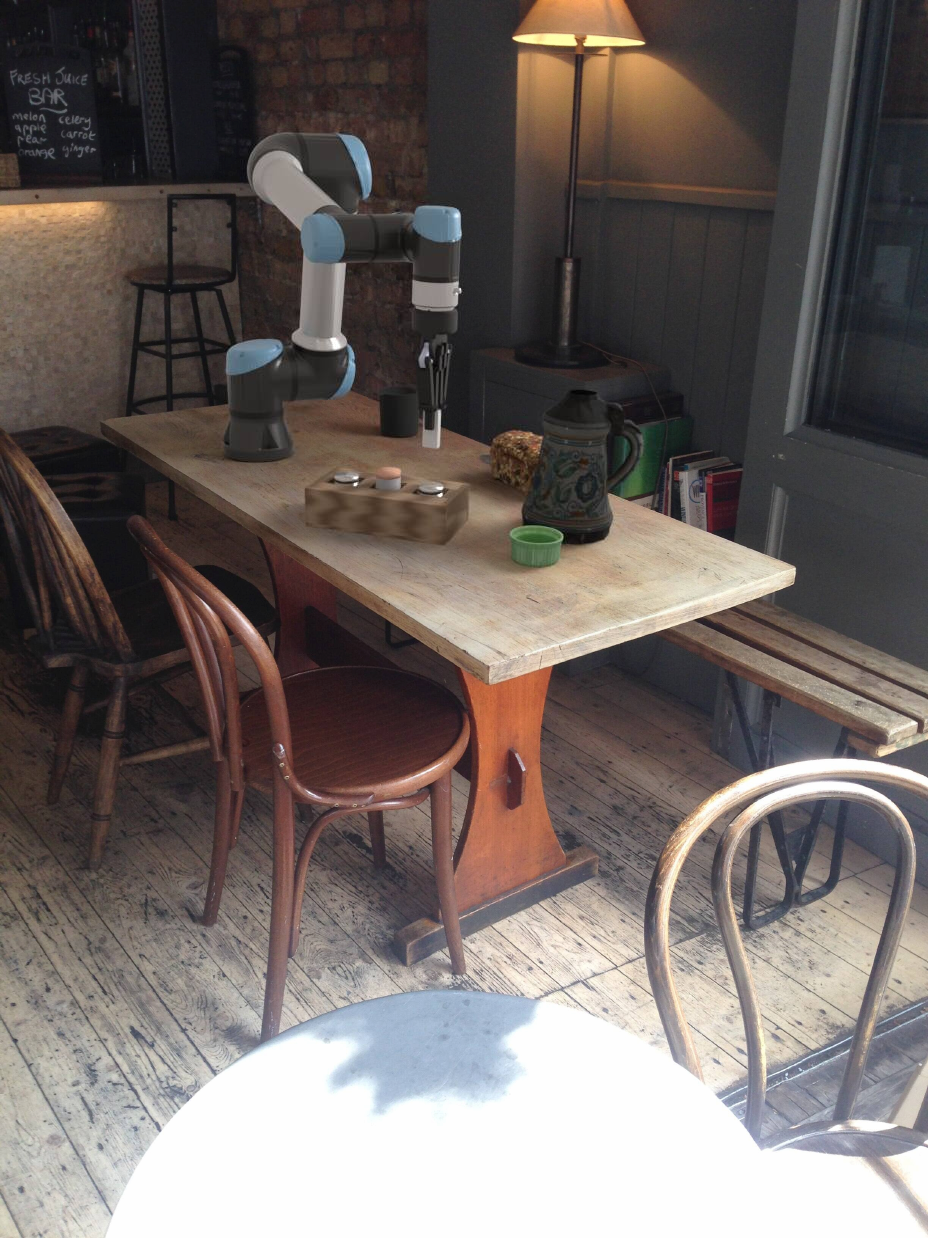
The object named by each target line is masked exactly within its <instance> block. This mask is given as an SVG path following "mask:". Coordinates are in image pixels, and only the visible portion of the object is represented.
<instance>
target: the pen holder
mask: <svg viewBox="0 0 928 1238" xmlns="http://www.w3.org/2000/svg"><path fill="white" fill-rule="evenodd" d="M378 396H379V397H378V398H379V421H380V422H379V424H380V425H379V426H380V432H381V434H382V435H383V436H386V437H390V438H399V439H401V438H402V439H405V438H412V437H415V436H416V435H417V434H418V432H419V421H420V420H419V419H420V418H419V417H420V410H418V407H419V404H418V390H416V389H415V388H414V387H411V386H405V385H403V386H402V385H398V386H397V385H395V386H394V385H393V386H392V385H391V386H385V387H381V388H380V389H379V392H378Z"/></svg>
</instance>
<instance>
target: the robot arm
mask: <svg viewBox="0 0 928 1238" xmlns="http://www.w3.org/2000/svg"><path fill="white" fill-rule="evenodd" d="M247 161H248V162H247V165H246V174H247V179H248V183H249V185H250V187H251V189H252V190H253V192H254V194H256V196H258V197H259V198H260V199H261V200H262V201H263V202H265V204H266V203H267V204H268V205H272V206H275V207H276V208H277V209H278V210H279V211H280V212H281V213H282V214H283V215H284V216H285V217H287V219H288V220H289V221H290V222H291V223H292V224H293V225H294V226H295V227H296V228H297V229H298V230H299V231H300V243H301V248H302V251H303V255H302V256H303V259H302V261H303V262H302V275H301V293H300V294H301V295H300V296H301V297H300V298H301V299H300V313H299V314H300V316H299V328H298V329H296V330H295V331H294V332H293V333H292V334H291V344H290V345H284V344H283V343H282V341H281V340H279V339H276V338H275V339H274V338H265V339H263V338H260V339H257V338H256V339H251V340H246V341H242V342H239V343H237V344H234V345H232V346H231V347H230V348H229V349H228V350H227V352H226V357H225V360H226V363H225V364H226V365H225V373H226V384H227V385H226V388H227V402H228V422H227V424H226V427H225V428H226V429H225V432H224V435H223V439H222V445H221V446H222V447H221V448H222V454H223V456H225V457H226V458H228V459H231V460H236V461H242V462H252V463H253V462H259V463H260V462H271V461H278V460H283V459H286V458H289V457H291V456H293V454H294V452H295V448H294V446H295V445H294V444H295V443H294V440H293V437H292V434H291V431H290V428H289V425H288V423H287V420H286V417H285V404H286V403H295V402H307V401H308V402H309V401H322V400H323V401H329V400H331V399H338V398H339V399H340V398H342V397H344V396H345V395H346V394H348V393H349V392H350V390H351V388H352V386H353V383H354V380H355V376H356V375H355V374H356V364H355V359H356V358H355V353H354V351H353V348H352V347H351V345H350V344H348V341H347V340H348V339H347V338H346V336H345V335H344V334H343V333H342V332H341V329H342V316H343V308H344V307H343V304H344V292H345V282H346V281H345V278H346V267H347V264H353V263H354V264H356V263H357V264H358V263H398V262H399V263H400V262H401V263H402V262H403V263H404V262H405V263H412V286H411V287H412V288H411V290H412V291H411V293H412V294H411V303H412V304H413V305H414V307H413V308H412V309H411V329H412V330H413V331H414V332H415V333H419V334H420V335H421V341H420V343H419V347H418V348H419V349H418V350H419V351H418V353H419V354H416V355H415V356H414V364H415V365H414V366H415V368H416V369H415V370H416V384H417V387H416V388H417V392H418V404H419V407H418V410H419V411H422V439H421V440H422V442H421V443H422V446H421V447H422V448H427V449H428V448H429V449H435V450H438V449H439V448H440V447H441V421H442V420H441V419H442V409H444V410H445V409H446V408H447V404H444V403H446V401H447V389H448V379H449V372H450V371H449V369H450V362H451V361H450V360H451V355H452V351H453V345H452V344H451V343H449V342H448V335H451V334H455V333H456V332H457V330H458V316H459V315H458V314H459V313H458V312H459V311H458V310H457V308H455V307H457V306H458V304H459V294H460V295H461V294H462V289H461V287H459V284H460V283H459V279H460V266H461V265H460V264H461V263H460V262H461V245H462V243H461V241H462V235H463V234H462V233H463V232H462V226H461V225H462V224H461V223H462V221H461V217H462V216H461V215H462V214H461V212H460V210H459V209H458V208H455V207H453V206H444V205H420V206H418V207H416V208H415V211H414V213H413V212H410V211H405V212H404V211H396V212H393V213H376V214H375V213H370V214H369V213H358V212H359V211H358V210H359V201H364V200H366V199H368V197H369V196H370V193H371V190H372V183H373V182H372V181H373V179H372V178H373V177H372V168H371V162H370V161H371V160H370V158H369V155H368V152H367V149H366V147H365V145H364V143H363V142H362V141H361V139H359V138H358V137H357V136H354V135H351V134H343V133H338V132H334V133H328V132H327V133H326V132H320V133H319V132H317V133H316V132H289V131H288V132H285V131H284V132H277V133H274V134H272V135H269V136H267V137H266V138H264V139H263V140H261V141H259V143H258V144H256V146H255V147H254V148H253V150H252V152H251V153H250V155H249V158H248V160H247Z"/></svg>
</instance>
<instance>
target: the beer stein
mask: <svg viewBox="0 0 928 1238" xmlns="http://www.w3.org/2000/svg"><path fill="white" fill-rule="evenodd" d="M541 415H542V416H541V421H542V422H541V423H542V428H543V435H542V436H543V439H542V444H541V448H540V453H539V457H538V462H537V466H536V470H535V474H534V478H533V481H532V485H531V488H530V491H529V493H527V496H526V498H525V500H524V502H523V504H522V506H521V510H520V511H521V517H522V526H545V527H550V528H553V529H556V530H558V531H560V532H561V533H562V534H563V541H562V543H561V545H570V546H571V545H575V546H579V545H580V546H582V545H588V544H594V543H598V542H601V541H604V540H605V539H606V538H607V537H608V536H609V534H610V531H611V526H612V524H613V521H614V513H613V510H612V508H611V505H610V504H611V503H610V498H609V494H610V493H611V492H613V491H614V490H616V489H617V488H618V487H619V486H621V485H622V484H624V482H625V481H626V480H627V479H628V478H629V477H630V476H631V475H632V474H633V472H635V470H636V468H637V467H638V465H639V463H640V462H641V459H642V456H643V452H644V451H643V450H644V440H643V438H644V437H643V436H642V434H643V431H642V429H641V428H640V427H639V426H638V425H636V423H635V422H634V421H632V420H630V419H626V414H625V411H624V409H623V408H622V406H621V404H619V403H617V402H612V401H606V400H604V399H602V398H601V397H600V396H599V392H596V391H595V390H594V391H593V390H588V389H570V390H568V391H567V393H566V394H565V396H564V397H563V398H561V400H559V401H557V402H556V403H554V404H553V405H551V406H550V407H549V408H547V409H545V411H544V412H543V414H541ZM608 436H611V437H622V438H624V439H626V440H627V442H628V444H629V451H628V454H627V455H626V457H625V459H624V461H623V463H622V464H621V465H620V466H618V468H617V469H616V470H614V472H613V473H612V474H611V475H608V451H607V450H608V449H607V445H608V444H607V443H608V442H607V441H608Z"/></svg>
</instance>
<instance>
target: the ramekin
mask: <svg viewBox="0 0 928 1238" xmlns="http://www.w3.org/2000/svg"><path fill="white" fill-rule="evenodd" d="M508 536H509V539H510V555H511V559H512V560H513V561H514V562H516V563H517V564H519V565H523V566H527V567H536V568H537V567H538V568H539V567H540V568H541V567H548V566H552V565H554V564H556V563H558V561H559V560H560V554H561V550H562V549H561V548H562V544H561V543H562V541H563V534H562V533H561V532H560V531H558V530H556V529H553V528H550V527H545V526H523V525H522V526H518V527H515V528H512V530H510V531H509V535H508Z"/></svg>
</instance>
